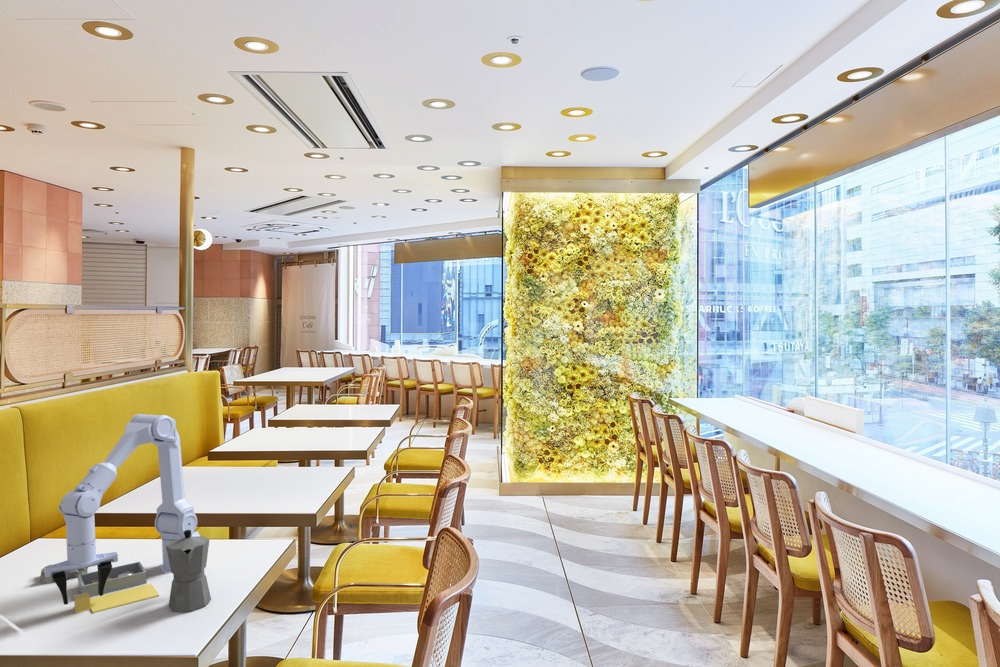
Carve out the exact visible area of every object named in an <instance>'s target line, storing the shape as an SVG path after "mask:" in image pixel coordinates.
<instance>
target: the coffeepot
mask: <svg viewBox="0 0 1000 667" xmlns="http://www.w3.org/2000/svg"><path fill="white" fill-rule="evenodd" d="M184 535H185V538H181V539H177V540H173V541H172V542H170V543H169V544H168V545H166V549H167V554H168V559H169V564H170V569H171V572H172V573H171V574H173V579H172V581H171V586H170V587H171V588H170V594H169V600H168V605H167V607H168V608H169V610H170V611H172V612H174V613H190V612H191V613H192V612H195V611H197V610H201V609H203V608H205V607H207V605H209V604H210V601H212V598H211V593H210V588H209V583H208V579H207V575H206V574H205V569H206V567H207V562H208V556H209V555H208V554H209V546H210V538H208V537H207V536H204V535H200V536H193V537H192V534H191V530H186V531H184Z"/></svg>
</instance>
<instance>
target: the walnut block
mask: <svg viewBox="0 0 1000 667" xmlns="http://www.w3.org/2000/svg"><path fill="white" fill-rule="evenodd" d="M110 579H112V578H110V577H108V578H107V580H110ZM97 582H98V579H95V580H92V581H90V584H92V583H97Z"/></svg>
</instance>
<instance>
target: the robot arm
mask: <svg viewBox="0 0 1000 667" xmlns="http://www.w3.org/2000/svg"><path fill="white" fill-rule="evenodd" d="M124 427H125V428H124V429H125V430H124V433H123V434H122V436H121V437H120V438H119V440H118V441H117V443H116V444H115V445H114V447H113V448H112V449H111V451H110V452H109V454H108V455H107V456H106V458H105V459H104V461H103V462H99V463H95V464H94V465H92V466H90V468H89V469H88V473H87V474H86V475H85V476H84V478H82V479H81V481H80V482H79V483H78V484H77V485H76V486H75V488H74V489H73V490H70V491H68V492H66V494H65V495H64V496H63V497H62V498H61V501H60V504H59V505H58V510H59V512H60V513H61V514H62V515H63V517H64V518H63V519H64V522H65V533H66V534H65V536H66V555H67V556H66V558H67V560H64V561H61V562H58V563H55V564H50V565H51V566H48V565H46V566H44V567H43V568H44V572H45V577H50V576H51V575H52V577H53V580H54V583H55V585H56V586H57V588H58V589H59V592H60V593H61V597H62V603H63V605H69V599H68V590H67V589H68V588H67V587H68V586H67V582H68V581H67V580H68V579H67V578H66V574H65V573H67V572H69V571H73V570H77V571H79V570H82V568H87V567H88V568H90V567H96V566H97V571H98V594H99V595H98V597H99V596H103V595H104V594H103V591H104V587H105V583H106V580H107V578H108V575H109V573H110V571H111V569H112V568H113V564H112V563H117V562H119V554H118V552H117V551H113V552H107V553H98V554H97V550H96V549H97V547H96V526H95V525H96V523H95V522H96V521H95V513H96V512H98V510H99V509H100V507H101V502H102V498H103V496H104V494H105V492H106V491H107V490H108V489H109V487H111V485H112V484H113V482H115V480H116V479H117V477H118V473H117V470H118V469H119V467H121V465H122V464H123V463H124V462H125V461H126V460H127V459H128V458H129V456H131V454H132V453H133V452H134V451H135V450H136V448H138V447H139V446H141V445H142V446H143V445H145V444H150V443H151V444H153V445H155V446H156V447H157V454H158V465H159V476H160V477H159V479H160V488H161V502H162V503H160V504H159V506H157V508H156V510H155V511H156V517H155V519H154V528H155V531H156V532H158V533H159V537H161V547H162V548H161V550H162V563H161V564H158V567H159V568H160V570H161V571H162V572H163V573H164V574H165V575H167V574H173V573H172V572H171V569H170V564H169V559H168V554H167V549H166V545H168V544H169V543H170V542H172V541H173V540H177V539H181V538H185V535H184V531H186V530H191V534H192V537H193V536H201V535H200V533H199V531H195V530H197V526H198V518H197V517H198V516H197V514H196V513H195V509H194V506H193V505H192V504H191V503H190V502H189V501H187V500H186V498H185V486H184V485H185V484H184V475H183V474H184V473H183V472H184V471H183V460H182V448H181V438H180V434H179V432H178V430H177V423H176V419H174V418H172V417H170V415H166V414H161V415H159V414H157V415H156V414H144V413H137V414H135V415H133V417H131V419H130V421H128V422H127V424H125V426H124Z"/></svg>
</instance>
